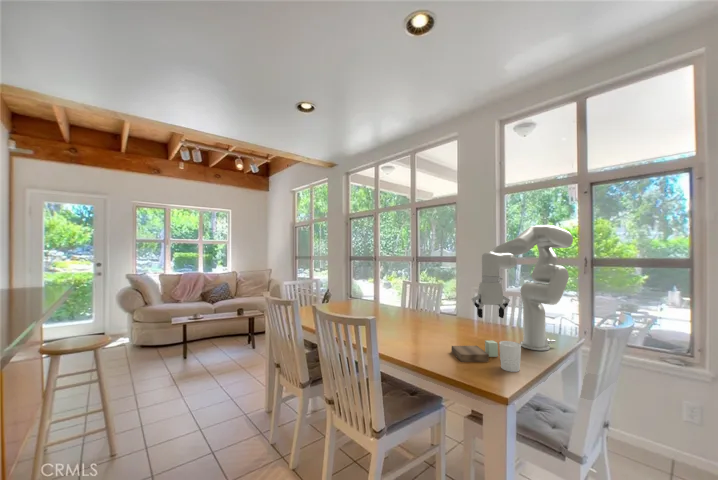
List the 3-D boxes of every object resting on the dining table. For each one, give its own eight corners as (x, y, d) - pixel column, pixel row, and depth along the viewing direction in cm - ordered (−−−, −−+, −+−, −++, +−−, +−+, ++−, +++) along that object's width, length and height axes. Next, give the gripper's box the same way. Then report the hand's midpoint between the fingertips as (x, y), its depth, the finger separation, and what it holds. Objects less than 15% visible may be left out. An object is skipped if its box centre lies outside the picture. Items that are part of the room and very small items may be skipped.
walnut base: (476, 352, 142) (476, 345, 142) (488, 361, 130) (488, 354, 130) (451, 352, 141) (451, 345, 141) (461, 361, 129) (461, 354, 129)
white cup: (495, 365, 126) (495, 341, 126) (513, 364, 126) (513, 340, 127) (506, 373, 118) (506, 347, 118) (525, 372, 118) (525, 346, 119)
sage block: (493, 353, 140) (493, 340, 140) (497, 356, 136) (497, 343, 136) (485, 353, 140) (485, 340, 140) (489, 356, 136) (489, 343, 136)
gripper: (504, 279, 143) (504, 315, 143) (468, 278, 143) (468, 315, 142) (513, 280, 136) (513, 319, 135) (475, 280, 135) (475, 319, 134)
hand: (490, 317), depth 138 cm, fingers open, 9 cm apart
